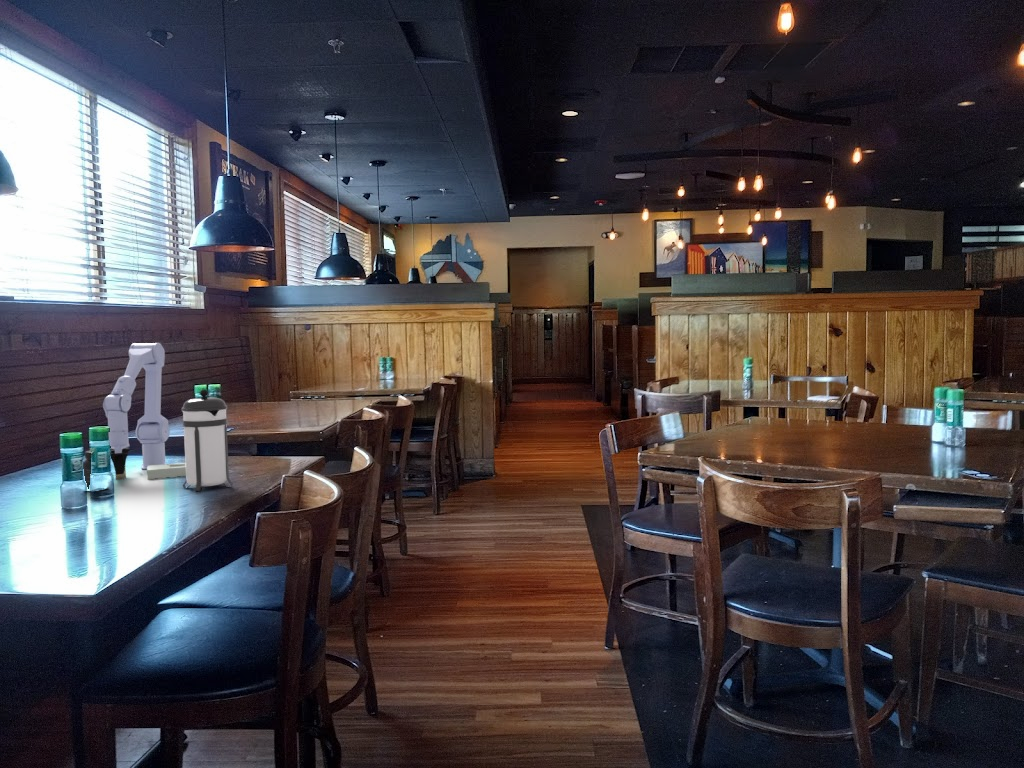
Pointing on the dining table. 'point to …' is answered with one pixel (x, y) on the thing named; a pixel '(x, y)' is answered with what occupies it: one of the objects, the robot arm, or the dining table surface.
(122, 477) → the peg
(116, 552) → the dining table surface
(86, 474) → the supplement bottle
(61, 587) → the dining table surface
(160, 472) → the bore block
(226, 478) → the coffee press
